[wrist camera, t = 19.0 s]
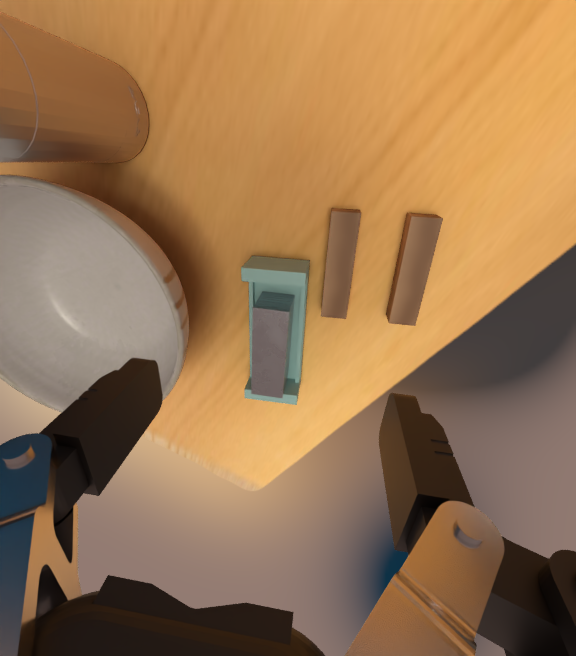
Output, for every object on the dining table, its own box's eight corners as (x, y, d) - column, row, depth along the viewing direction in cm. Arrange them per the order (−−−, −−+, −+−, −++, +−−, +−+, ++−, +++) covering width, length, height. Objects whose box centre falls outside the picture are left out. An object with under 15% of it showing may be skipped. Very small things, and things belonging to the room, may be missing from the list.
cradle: (253, 376, 47) (244, 398, 43) (252, 255, 39) (241, 267, 34) (300, 381, 46) (296, 404, 42) (309, 260, 38) (305, 273, 33)
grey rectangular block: (259, 371, 45) (251, 393, 40) (262, 291, 39) (252, 307, 35) (288, 375, 44) (282, 398, 40) (294, 294, 39) (289, 311, 34)
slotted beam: (321, 307, 40) (320, 316, 38) (332, 208, 35) (331, 211, 33) (410, 316, 39) (415, 325, 37) (436, 214, 34) (442, 218, 31)
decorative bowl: (263, 292, 41) (237, 338, 30) (150, 393, 52) (102, 452, 41) (88, 113, 34) (-26, 91, 23) (1, 272, 45) (-103, 306, 34)
